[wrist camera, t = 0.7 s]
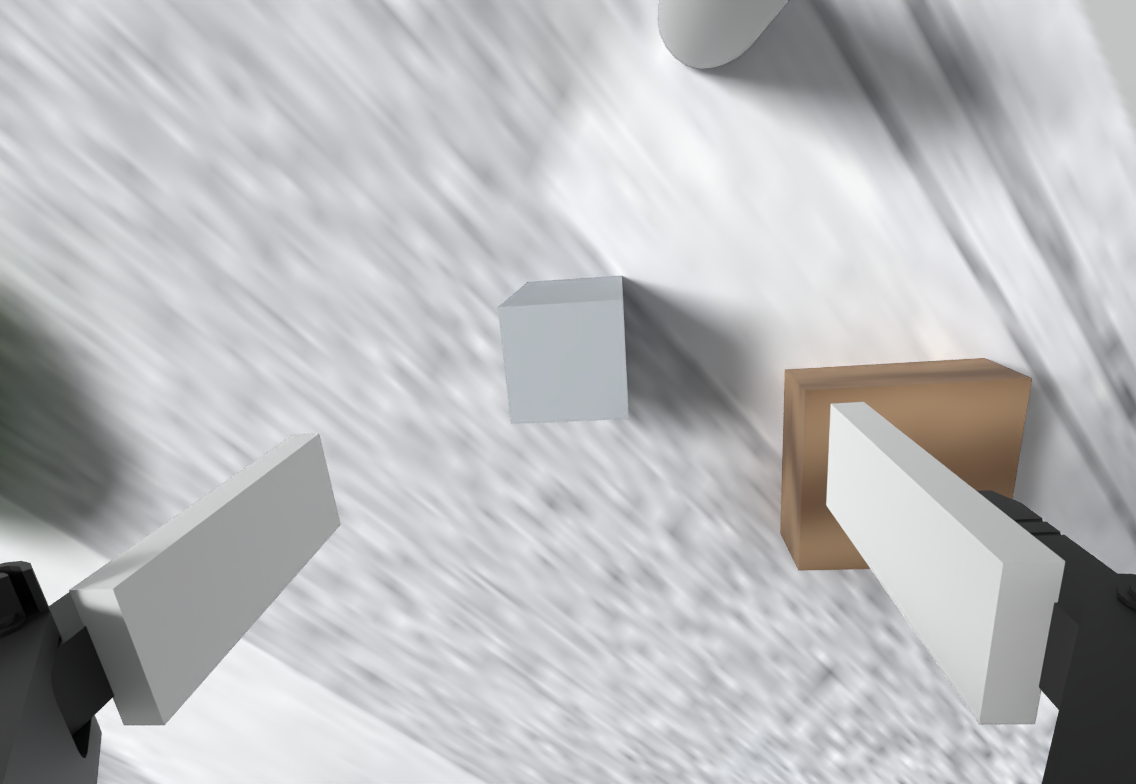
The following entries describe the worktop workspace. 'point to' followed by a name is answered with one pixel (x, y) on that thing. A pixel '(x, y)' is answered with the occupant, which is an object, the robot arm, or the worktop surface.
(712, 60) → the beverage can
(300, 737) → the worktop surface
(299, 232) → the worktop surface
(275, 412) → the worktop surface
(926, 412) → the walnut block
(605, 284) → the slate block
